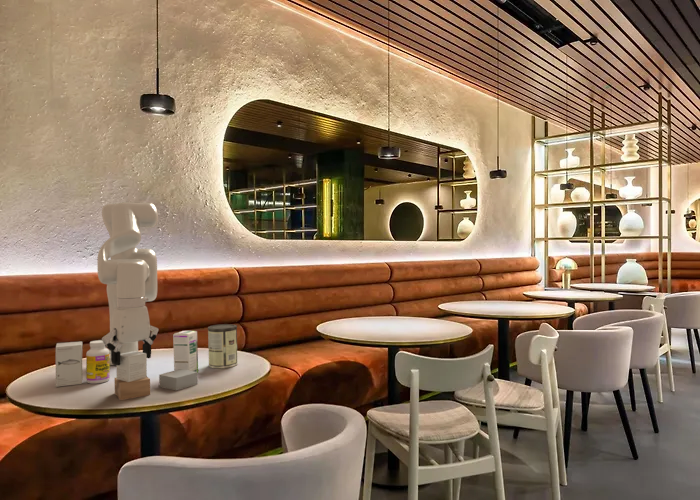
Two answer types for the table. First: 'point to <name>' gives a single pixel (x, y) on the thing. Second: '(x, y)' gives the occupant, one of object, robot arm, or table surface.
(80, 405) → the table surface
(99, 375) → the supplement bottle
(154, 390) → the table surface
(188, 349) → the syrup box
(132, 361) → the product box
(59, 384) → the supplement box
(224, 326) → the coffee can
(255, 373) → the table surface
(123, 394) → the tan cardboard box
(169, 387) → the grey block
